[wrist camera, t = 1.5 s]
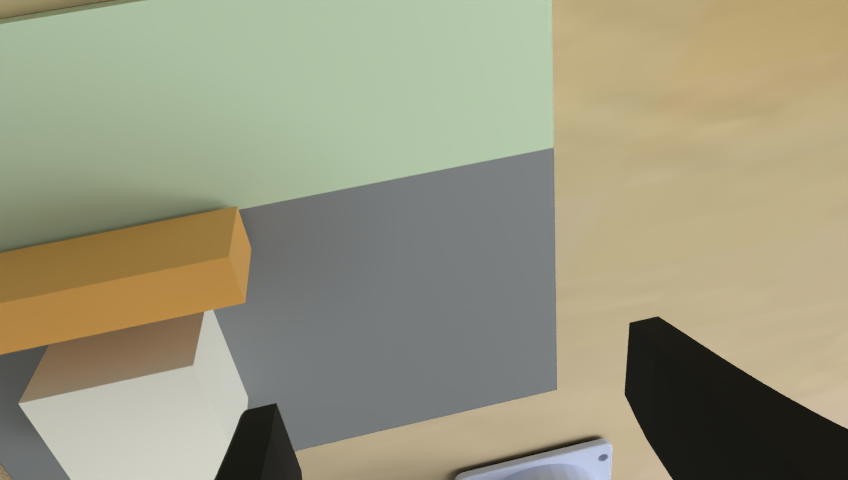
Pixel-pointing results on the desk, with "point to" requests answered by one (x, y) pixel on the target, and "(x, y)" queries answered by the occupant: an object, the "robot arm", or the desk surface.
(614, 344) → the desk surface
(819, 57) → the desk surface
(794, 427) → the robot arm
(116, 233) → the bar
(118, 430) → the plug block
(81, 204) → the green and grey board
